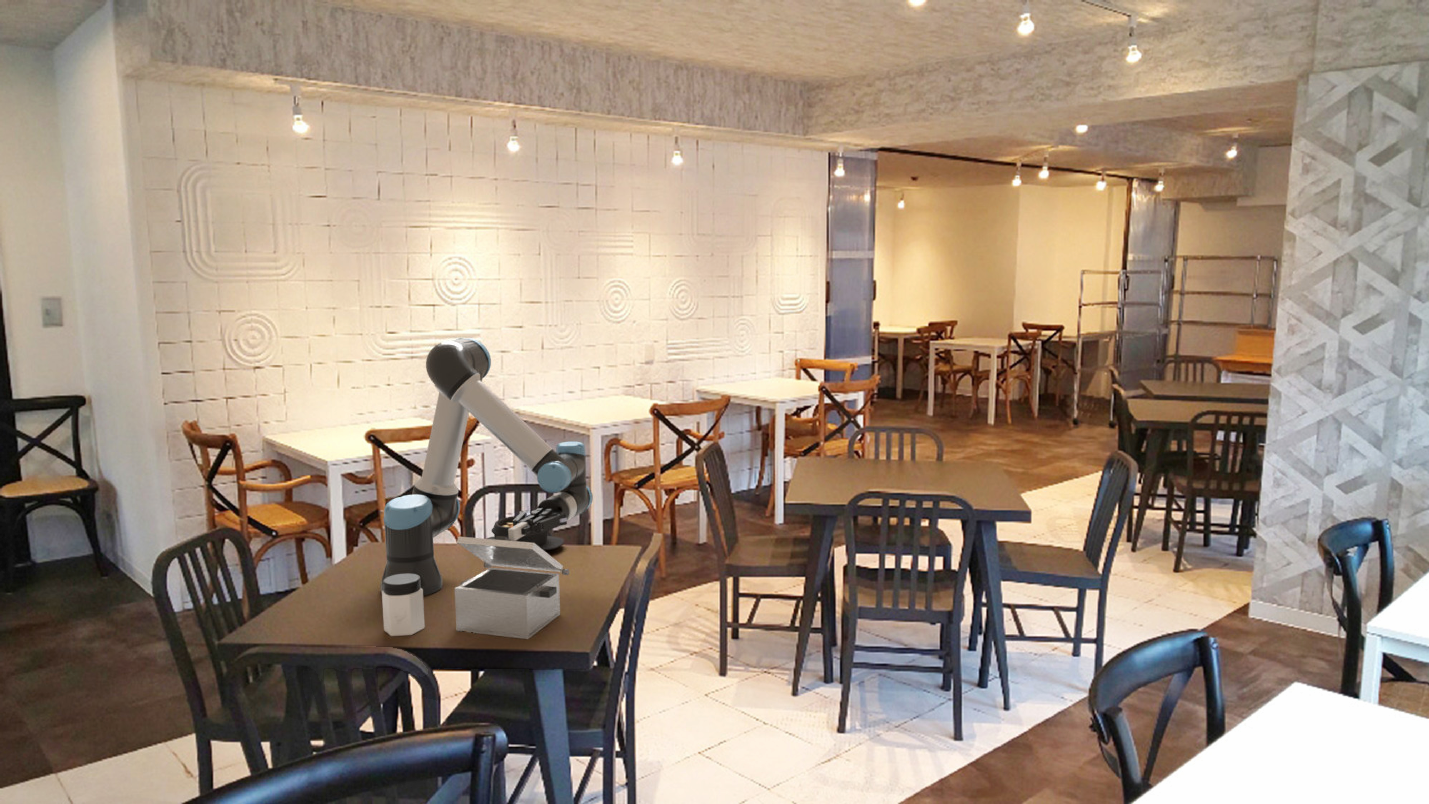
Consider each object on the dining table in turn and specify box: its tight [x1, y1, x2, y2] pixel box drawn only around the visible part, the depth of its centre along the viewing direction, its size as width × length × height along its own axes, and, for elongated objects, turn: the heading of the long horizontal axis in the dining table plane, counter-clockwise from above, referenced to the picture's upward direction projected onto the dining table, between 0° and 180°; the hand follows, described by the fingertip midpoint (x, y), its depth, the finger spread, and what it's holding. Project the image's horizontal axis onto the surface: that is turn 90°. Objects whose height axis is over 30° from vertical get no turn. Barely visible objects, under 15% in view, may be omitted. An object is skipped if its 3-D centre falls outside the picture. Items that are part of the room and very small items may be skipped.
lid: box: [456, 536, 564, 573], centre depth 223 cm, size 17×19×3 cm
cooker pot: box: [454, 562, 570, 640], centre depth 223 cm, size 18×23×11 cm
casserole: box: [485, 515, 565, 551], centre depth 282 cm, size 25×19×8 cm
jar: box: [381, 574, 425, 637], centre depth 219 cm, size 9×8×12 cm
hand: (511, 535), depth 221 cm, fingers closed
